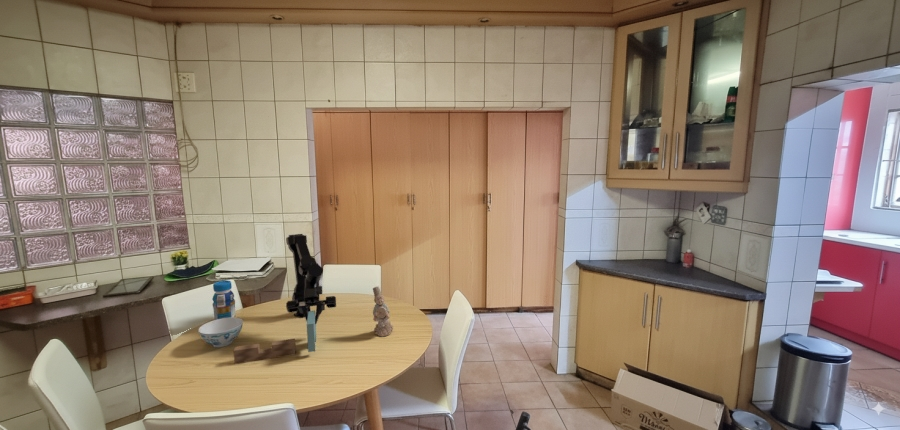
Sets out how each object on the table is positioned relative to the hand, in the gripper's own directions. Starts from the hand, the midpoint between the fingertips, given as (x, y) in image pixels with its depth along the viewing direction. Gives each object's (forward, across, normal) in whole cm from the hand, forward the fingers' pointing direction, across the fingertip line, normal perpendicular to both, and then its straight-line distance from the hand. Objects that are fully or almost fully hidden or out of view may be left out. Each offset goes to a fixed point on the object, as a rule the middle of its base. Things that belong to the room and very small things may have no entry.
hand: (312, 324), depth 139 cm
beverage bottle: (-16, -38, +29) cm, 50 cm away
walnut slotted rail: (+9, -16, +4) cm, 19 cm away
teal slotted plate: (+7, 0, +3) cm, 7 cm away
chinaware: (-3, -35, +16) cm, 38 cm away
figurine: (+5, +28, +8) cm, 30 cm away
